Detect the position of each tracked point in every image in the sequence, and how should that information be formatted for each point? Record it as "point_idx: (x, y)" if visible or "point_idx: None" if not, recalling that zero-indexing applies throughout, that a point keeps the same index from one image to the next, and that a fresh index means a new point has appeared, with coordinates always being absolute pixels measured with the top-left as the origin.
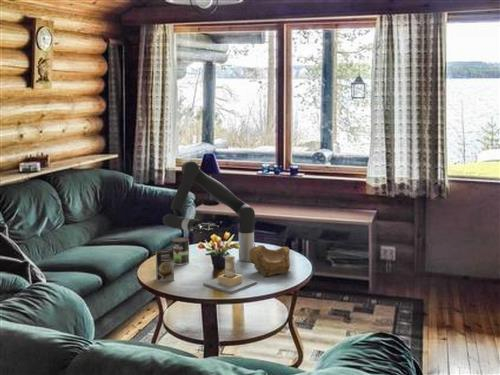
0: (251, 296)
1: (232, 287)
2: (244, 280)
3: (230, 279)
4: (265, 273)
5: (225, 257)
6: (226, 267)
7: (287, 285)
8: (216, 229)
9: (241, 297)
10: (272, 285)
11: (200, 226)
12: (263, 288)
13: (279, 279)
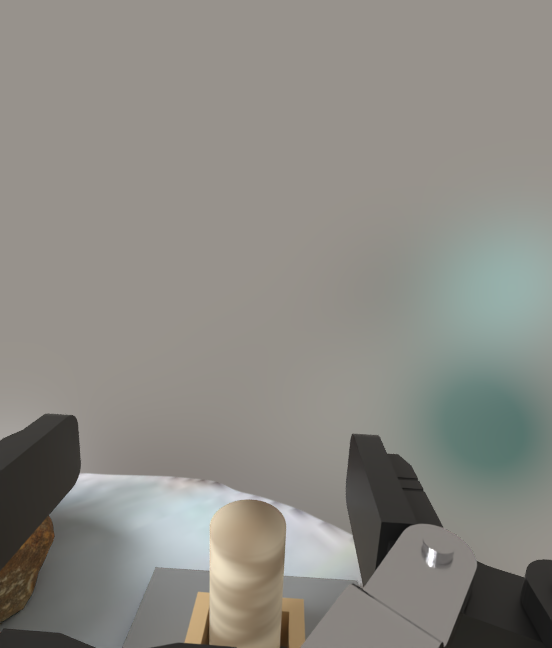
0: (311, 518)
1: (309, 612)
2: (170, 627)
3: (301, 602)
4: (36, 574)
5: (283, 539)
6: (282, 596)
7: (133, 486)
8: (57, 497)
9: (348, 538)
10: (154, 519)
11: (384, 602)
12: (206, 527)
13: (61, 532)
